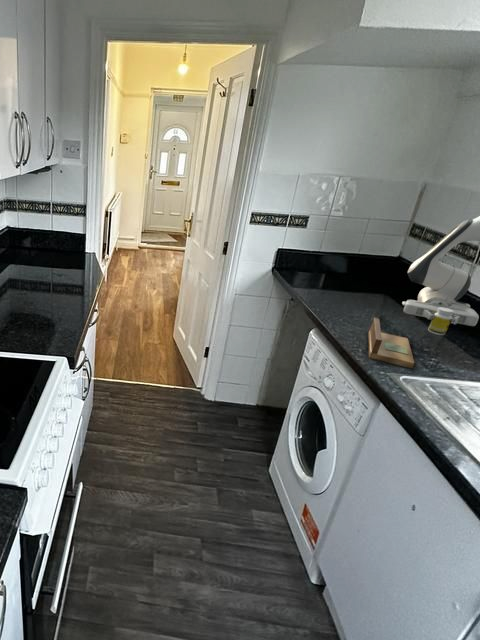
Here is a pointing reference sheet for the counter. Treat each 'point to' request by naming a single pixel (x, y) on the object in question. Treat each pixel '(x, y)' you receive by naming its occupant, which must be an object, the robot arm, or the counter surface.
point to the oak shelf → (389, 347)
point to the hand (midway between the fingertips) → (442, 319)
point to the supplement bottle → (441, 321)
